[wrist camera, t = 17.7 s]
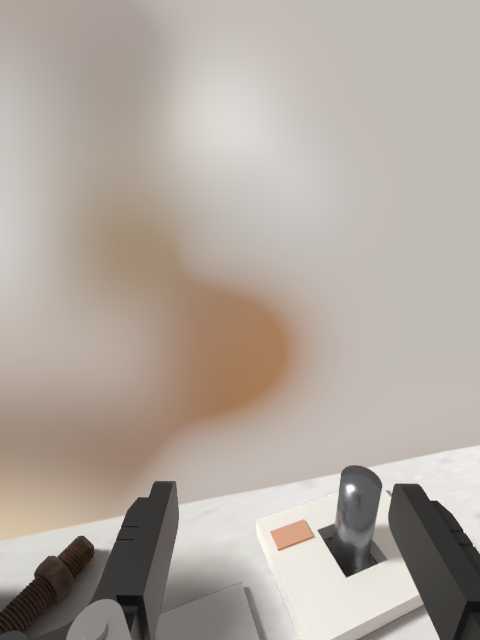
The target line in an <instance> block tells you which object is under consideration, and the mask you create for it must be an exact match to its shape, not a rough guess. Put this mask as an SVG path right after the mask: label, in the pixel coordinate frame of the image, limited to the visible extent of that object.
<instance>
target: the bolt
mask: <svg viewBox="0 0 480 640" xmlns="http://www.w3.org/2000/svg"><path fill="white" fill-rule="evenodd" d="M93 555H94V546H93V544H92V543H91V542H90V541H89V540H88V539H87V538H85V537H84V536H78V538H76V539H75V540H74V541H73V542H72V543H71V544H70V545H69V546H68V547H67V548H66V549H65V550H64V551H63V552H62V553H61V554H60V555H59V556H58V557H56V556H48V557H47V558H46V559H45V560H44V561H43V562H42V563H41V564H40V565H39V566H38V568H37V569H36V571H35V573H34V576H35V580H33V581H32V583H30V584H29V586H27V587H26V589H24V590H23V592H20V594H19V595H17V597H16V598H14V600H13V602H10V604H9V605H7V606H6V608H5V609H3V612H0V635H1V634H3V633H6V632H9V631H20V632H23V633H24V630H27V629H28V626H31V623H33V622H34V619H37V616H40V613H41V612H43V610H44V609H46V607H47V606H49V603H51V602H54V603H59V602H60V601H61V600H62V599H63V598H64V597H65V596H66V595H67V593H68V592H69V591H70V590H71V589H72V587H73V585H74V576H76V575H77V574H78V573H79V571H81V568H83V567H84V566H85V565H86V563H88V562H89V561H90V560H91V558H93Z"/></svg>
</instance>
